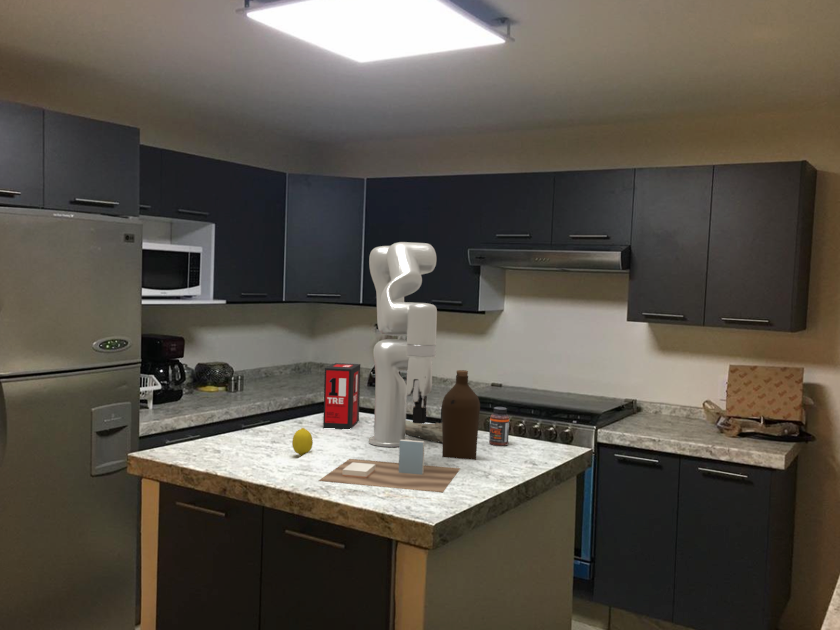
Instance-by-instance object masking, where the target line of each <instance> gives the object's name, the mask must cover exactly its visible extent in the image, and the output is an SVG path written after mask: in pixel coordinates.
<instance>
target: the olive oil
mask: <svg viewBox="0 0 840 630" xmlns="http://www.w3.org/2000/svg"><path fill="white" fill-rule="evenodd" d="M468 374H469V371H468V370H467V369H466V370H464V369H457V370H456V375H455V384H454V385H453V386H452V387H451V389H449V390H448V391H447V392H446V393H445V395H444V397H443V400H442V403H441V419H442V420H441V423H442V438H443V442H442V445H441V446H442V452H441V453H442V454H441V455H442V458H446V459H447V458H448V459H457V460H459V459H460V460H469V461H470V460H473V461H476V460H477V451H478V450H477V449H478V448H477V447H478V434H479V425H480V424H479V422H480V413H481V412H480V411H481V402H480V399H479V396H478V394H476V392H475V391H474V390H473V389H472V387H471V386H470V385H469V375H468Z"/></svg>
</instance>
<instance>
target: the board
mask: <svg viewBox="0 0 840 630" xmlns="http://www.w3.org/2000/svg"><path fill="white" fill-rule="evenodd" d="M352 462H355V463H366V464H376V467H375V471H374V472H373V473H372V474H371V475H370V476H368V477H367V478H358V477H347V476H343V469H344V468H346V467H347V466H348V465H350V464H351V463H352ZM460 470H461V467H460V468H459V467H450V466H449V467H448V466H437V465H427V464H424V471H423V474H422V475H421V474H409V473H399V462H391V461H380V460H367V459H359V458H358V459H355V458H348V459H347V460H346V461H344V462H342V463H341V464H340V465H339V466H337V467H335V468H334V469H333V470H331V471H330V472H329V473H327V474H326V475H324V476H323V477H321V478H320V479H319V480H318V482H325V483H326V482H327V483H336V484H338V483H339V484H348V485H357V486H367V487H379V488H388V489H389V488H390V489H398V490H399V489H400V490H409V491H410V490H413V491H422V492H432V493H433V492H434V493H444V492H445V491H446V489H447V488H448V486H449V485H450V484H451V482H452V480H454V479H455V477H456V475H457V474H458V472H460ZM354 491H356V490H354ZM426 498H428V497H426Z"/></svg>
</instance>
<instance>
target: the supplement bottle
mask: <svg viewBox="0 0 840 630" xmlns="http://www.w3.org/2000/svg"><path fill="white" fill-rule="evenodd" d="M507 409H508V408H506V407H503V406H495V407H493V413H492V414H491V415H490V416H489V417H490V418H489V437H488V442H489V444H490V445H491V446H499V447H504V446H507V445H508V444H509V434H510V416H509V415H508V413H507V411H508V410H507Z"/></svg>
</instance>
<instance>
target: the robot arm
mask: <svg viewBox="0 0 840 630" xmlns="http://www.w3.org/2000/svg"><path fill="white" fill-rule="evenodd" d="M368 257H369V261H368V263H369V272H370V276H371V280H372V282H373V284H374V288H375V291H376V316H377V317H376V318H377V319H376V320H377V321H376V322H377V328H378V331H379V332H380V334H382V335H385V336H394V337H395V336H396V337H397V336H398V337H399V336H402V337H403V336H406V339H403V338H399V339H398V338H397V339H395V338H387V339H381V340H379V341H377V342H376V344H374V346H373V362H374V363H373V364H374V371H375V372H374V373H375V377H374V378H375V385H374V386H375V387H374V388H375V394H374V420H373V423H374V425H373V426H374V429H373V436H371V437H369V438H368V443H369V444H370V445H373V446H376V447H377V446H378V447H386V448H387V447H388V448H393V447H394V448H395V447H398V448H399V445H400V440H411V439H410V438H409V437H407V436H406V434H405V427H406V420H407V398H408V397H410V396H412V422H413V423H421V424H426V422H427V400H428V398H427V397H428V395H429V394H430V393H431V392H432V385H433V359H436V357H437V327H438V326H437V325H438V324H437V322H438V321H437V320H438V319H437V318H438V317H437V316H438V310H437V309H438V308H437V306H436V305H434V304H433V303H432V304H431V303H428V302H427V303H426V302H410V301H409V302H408V301H407V302H406V301H405V297H407V296H409V295H412V294H413V293H415V292H417V291H418V290H420V287H421V286H422V283H423V277H422V275H425V274H429V273H432V272H433V271H434V270H435V267H436V266H437V253H436V250H435V248H434V247H433V246H432V244H431V243H425V242H412V241H411V242H407V241H399V242H394V243H393V244H391V245H382V246H381V245H380V246H376V247H374V248H373V249H372V250H371V251H370V254H369V256H368ZM399 372H406V381H405V380H404V378H403V377H402V376H401V375H400V373H399Z"/></svg>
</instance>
